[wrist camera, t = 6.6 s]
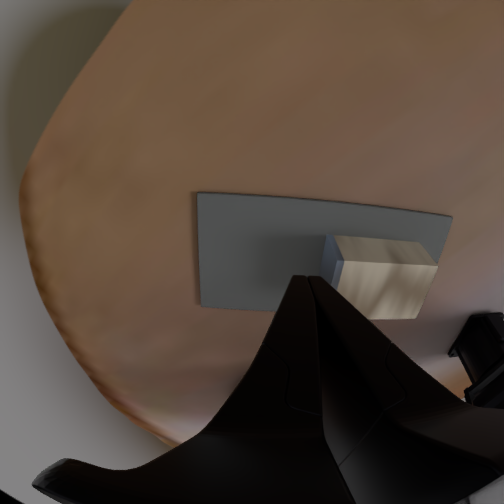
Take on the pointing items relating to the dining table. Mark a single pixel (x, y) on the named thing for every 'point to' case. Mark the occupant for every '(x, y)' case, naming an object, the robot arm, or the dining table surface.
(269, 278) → the mat
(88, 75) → the dining table surface
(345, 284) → the block
